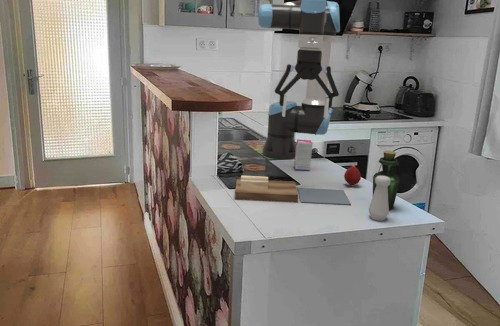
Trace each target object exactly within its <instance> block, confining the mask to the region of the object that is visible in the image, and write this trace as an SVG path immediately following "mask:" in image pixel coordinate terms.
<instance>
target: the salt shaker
mask: <svg viewBox="0 0 500 326" xmlns="http://www.w3.org/2000/svg"><path fill="white" fill-rule="evenodd" d="M375 183H376V184H377V185H376V188H375V191H374V194H373V193H372V196H373V197H372V198H371V201H370V203H369V207H368V213H369V217H370V219H372V220H373V221H376V222H382V221H383V222H384V221H385V219H386V218H387V217H388V216H389V214H390V210H389V206H388V186H389V185H390V178H389V177H387V176H377V177H376V178H375Z"/></svg>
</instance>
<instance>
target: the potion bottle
mask: <svg viewBox="0 0 500 326" xmlns="http://www.w3.org/2000/svg"><path fill="white" fill-rule="evenodd" d="M396 155H397V152H396V151H393V150H383V157H380V158H379V160H378V163H379V164H380V165H381V168H382V170H381V171H377V172H375V173H374V175H372V195H371V196H372V197H373V194H374V191H375V188H376V185H377V184H376V183H375V178H376V177H377V176H387V177H389V178H390V185H389V186H388V206H389V211H392V210H393V209H394V207H395V202H396V200H397V199H396V198H397V193H398V191H399V185H400V181H401V180H400V178H399V176H398V175H397V174H396V173H395V172H393V170H394V168H395V166H398V165H399V160H398V159H397V158H395V157H396Z"/></svg>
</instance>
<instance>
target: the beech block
mask: <svg viewBox="0 0 500 326" xmlns="http://www.w3.org/2000/svg"><path fill="white" fill-rule="evenodd" d="M240 179H241V184H240V188H245V189H265V190H268V180H269V176H262V175H260V176H259V175H258V176H257V175H242V174H241V176H240Z"/></svg>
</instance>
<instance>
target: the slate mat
mask: <svg viewBox="0 0 500 326" xmlns="http://www.w3.org/2000/svg"><path fill="white" fill-rule="evenodd" d="M296 188H297V192H298V199H299V201H300V203H301V204H313V205H314V204H318V205H319V204H320V205H339V206H352V202H351V201H350V200H349V198H348V195H347V194H346V192H345V190H344V189H337V188H336V189H335V188H331V189H330V188H315V187H313V188H311V187H309V188H308V187H296Z"/></svg>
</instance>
